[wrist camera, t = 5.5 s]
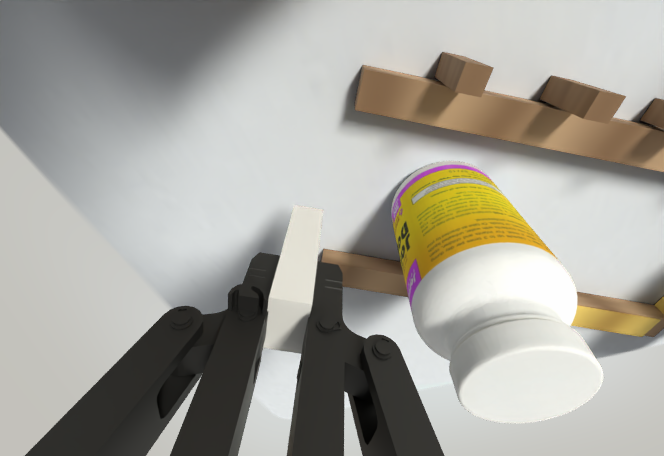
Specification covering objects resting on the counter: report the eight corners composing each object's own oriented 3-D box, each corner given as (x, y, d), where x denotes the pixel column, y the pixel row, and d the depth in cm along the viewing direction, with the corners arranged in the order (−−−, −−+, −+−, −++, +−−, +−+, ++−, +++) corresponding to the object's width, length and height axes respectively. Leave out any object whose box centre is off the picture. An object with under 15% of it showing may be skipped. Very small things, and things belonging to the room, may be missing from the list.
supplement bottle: (378, 176, 21) (410, 349, 10) (486, 142, 19) (656, 302, 9) (402, 254, 24) (446, 446, 14) (496, 230, 23) (628, 424, 12)
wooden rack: (319, 269, 25) (314, 308, 22) (368, 35, 17) (374, 42, 13) (638, 322, 27) (679, 366, 24) (835, 137, 18) (942, 164, 15)
